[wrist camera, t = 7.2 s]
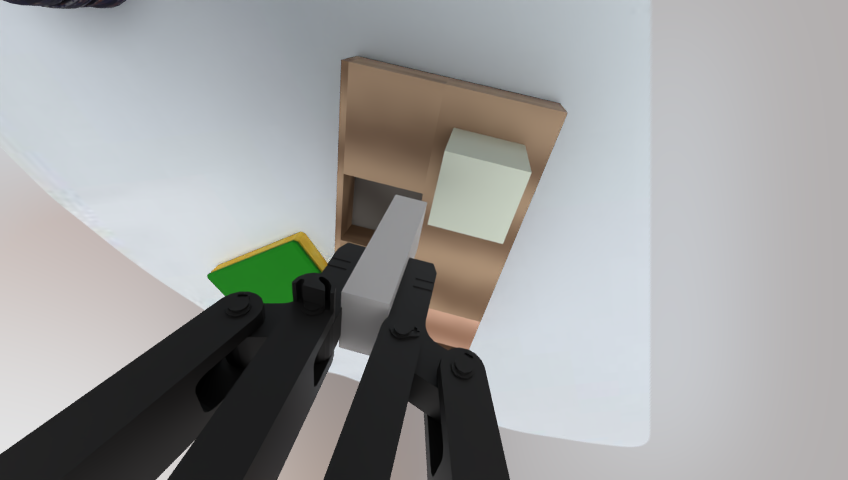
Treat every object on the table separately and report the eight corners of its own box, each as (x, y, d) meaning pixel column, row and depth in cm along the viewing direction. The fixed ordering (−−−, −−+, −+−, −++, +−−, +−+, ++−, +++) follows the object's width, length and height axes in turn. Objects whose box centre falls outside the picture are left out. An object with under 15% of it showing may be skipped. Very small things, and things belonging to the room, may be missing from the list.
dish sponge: (219, 263, 40) (204, 276, 38) (305, 228, 34) (293, 241, 32) (258, 305, 43) (246, 319, 41) (342, 279, 37) (334, 293, 35)
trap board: (357, 56, 24) (328, 63, 20) (559, 103, 23) (573, 120, 19) (343, 297, 38) (324, 330, 34) (469, 331, 38) (465, 369, 34)
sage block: (453, 127, 23) (444, 150, 19) (525, 145, 22) (531, 172, 18) (438, 191, 26) (427, 224, 21) (501, 208, 25) (502, 244, 21)
